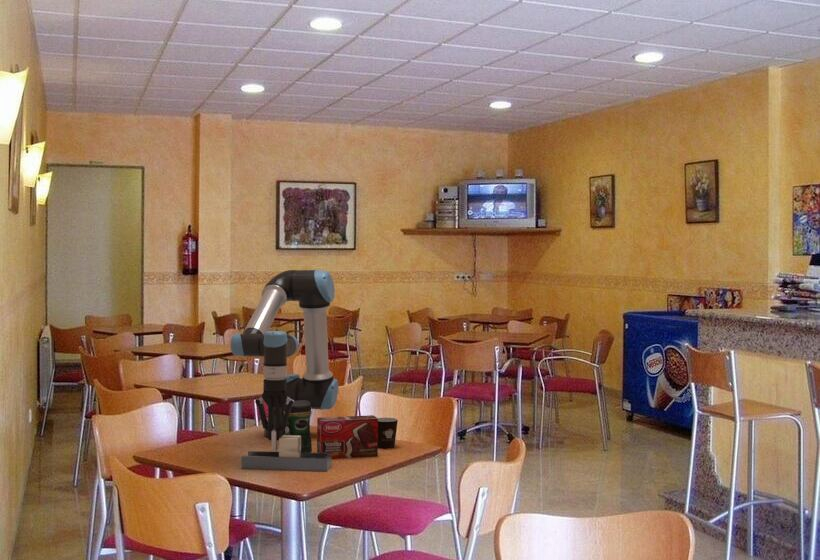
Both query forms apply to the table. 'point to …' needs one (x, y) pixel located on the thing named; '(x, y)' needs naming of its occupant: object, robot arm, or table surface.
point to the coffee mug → (387, 432)
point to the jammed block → (290, 446)
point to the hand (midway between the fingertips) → (274, 450)
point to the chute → (287, 461)
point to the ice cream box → (348, 436)
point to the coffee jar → (300, 423)
